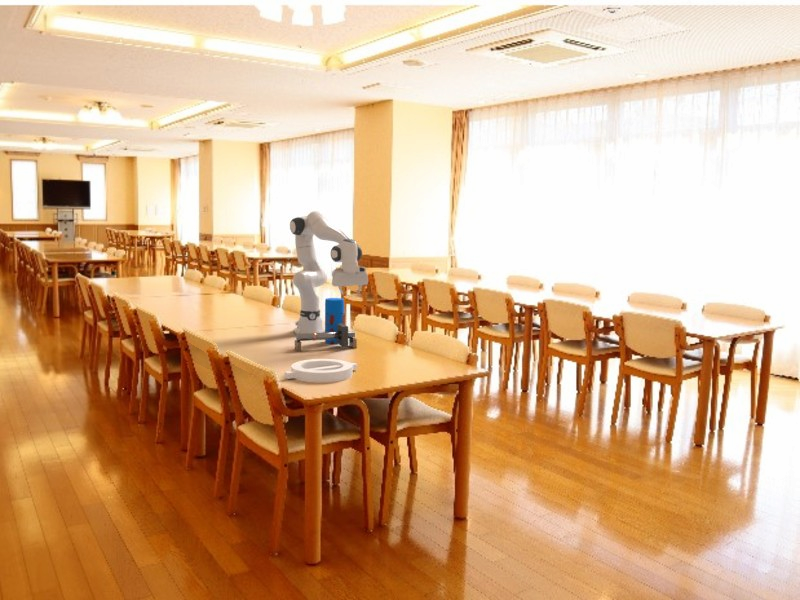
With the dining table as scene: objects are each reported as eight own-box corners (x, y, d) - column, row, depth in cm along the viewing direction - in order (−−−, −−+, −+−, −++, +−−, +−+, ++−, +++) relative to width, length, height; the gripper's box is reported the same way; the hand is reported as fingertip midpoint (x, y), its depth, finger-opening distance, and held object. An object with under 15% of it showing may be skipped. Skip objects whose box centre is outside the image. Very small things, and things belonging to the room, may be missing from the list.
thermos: (340, 344, 377) (340, 300, 374) (322, 343, 379) (322, 299, 376) (346, 341, 388) (346, 298, 385) (328, 340, 390) (328, 297, 387)
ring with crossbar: (282, 381, 295) (282, 370, 295) (302, 367, 323) (302, 357, 322) (343, 385, 290) (343, 374, 290) (359, 370, 318) (359, 360, 317)
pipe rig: (294, 349, 362) (294, 332, 361) (352, 345, 375) (352, 329, 373) (297, 351, 356) (297, 334, 355) (356, 348, 368) (356, 331, 367)
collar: (337, 343, 373) (337, 323, 372) (342, 342, 374) (342, 323, 373) (342, 346, 363) (342, 327, 362) (348, 346, 364) (348, 326, 363)
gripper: (333, 269, 360) (334, 295, 362) (369, 268, 368) (369, 293, 370) (330, 269, 366) (330, 294, 367) (365, 267, 374) (365, 292, 376)
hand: (350, 293), depth 369 cm, fingers open, 8 cm apart
